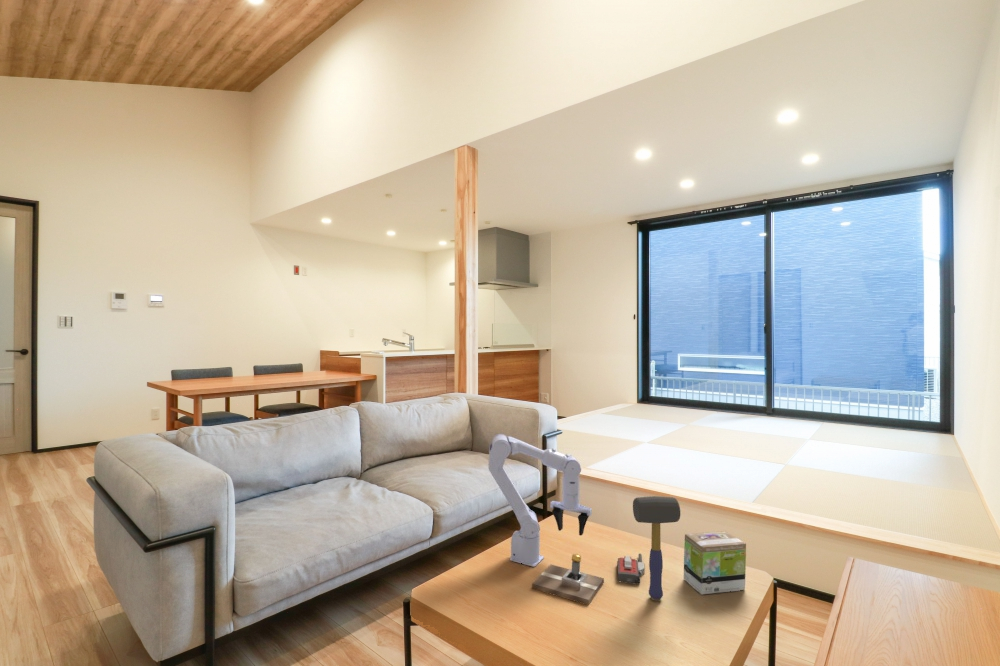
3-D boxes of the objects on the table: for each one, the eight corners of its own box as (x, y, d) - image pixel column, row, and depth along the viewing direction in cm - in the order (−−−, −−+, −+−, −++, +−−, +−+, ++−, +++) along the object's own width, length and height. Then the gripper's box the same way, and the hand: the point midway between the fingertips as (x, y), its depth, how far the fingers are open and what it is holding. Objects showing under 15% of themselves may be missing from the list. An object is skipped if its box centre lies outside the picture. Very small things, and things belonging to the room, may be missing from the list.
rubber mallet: (672, 591, 147) (672, 492, 147) (681, 605, 140) (682, 501, 139) (631, 592, 147) (631, 492, 147) (638, 606, 139) (638, 501, 139)
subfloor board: (532, 588, 149) (532, 583, 149) (550, 568, 161) (550, 564, 161) (588, 605, 140) (588, 599, 140) (603, 583, 152) (603, 577, 152)
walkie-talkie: (646, 588, 150) (643, 558, 169) (646, 573, 150) (643, 545, 169) (617, 584, 152) (617, 555, 171) (617, 570, 152) (617, 543, 171)
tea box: (702, 596, 144) (702, 546, 144) (682, 579, 154) (683, 533, 154) (746, 591, 148) (746, 542, 147) (724, 574, 157) (725, 529, 157)
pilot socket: (561, 584, 148) (561, 577, 148) (569, 575, 153) (569, 569, 153) (580, 589, 145) (580, 583, 145) (587, 580, 150) (587, 574, 150)
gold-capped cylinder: (569, 581, 149) (570, 555, 150) (572, 578, 152) (573, 553, 153) (577, 583, 148) (579, 557, 149) (580, 581, 150) (582, 555, 152)
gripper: (595, 492, 167) (594, 532, 167) (556, 485, 175) (556, 523, 175) (587, 499, 161) (587, 539, 161) (547, 491, 169) (547, 530, 169)
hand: (570, 532), depth 168 cm, fingers open, 7 cm apart
